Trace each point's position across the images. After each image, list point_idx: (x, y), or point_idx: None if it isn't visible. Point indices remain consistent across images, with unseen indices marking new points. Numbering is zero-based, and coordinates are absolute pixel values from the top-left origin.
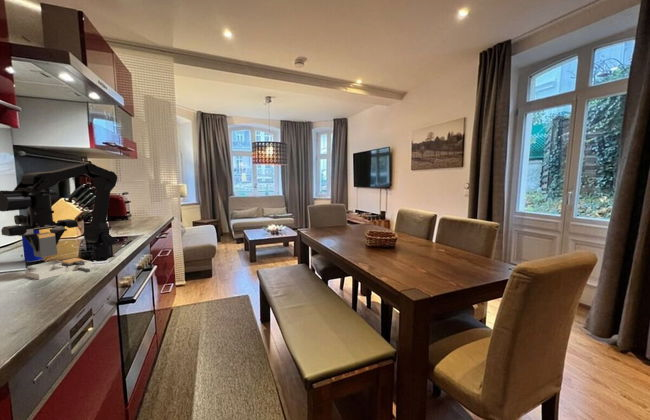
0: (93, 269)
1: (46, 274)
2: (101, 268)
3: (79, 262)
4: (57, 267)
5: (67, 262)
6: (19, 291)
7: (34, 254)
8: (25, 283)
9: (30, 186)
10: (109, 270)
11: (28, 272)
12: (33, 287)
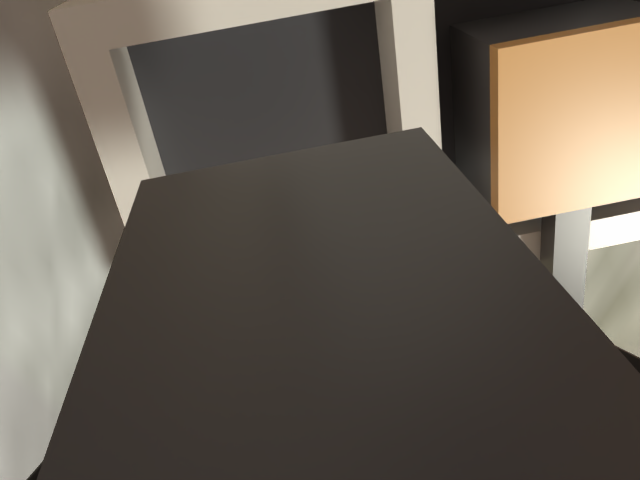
0: (586, 305)
1: None
2: (632, 328)
3: (569, 280)
4: (395, 107)
5: (496, 206)
6: (19, 461)
7: (140, 205)
8: (61, 282)
9: None
10: None
11: (86, 111)
12: None
